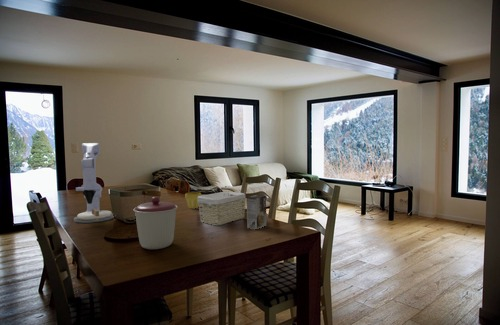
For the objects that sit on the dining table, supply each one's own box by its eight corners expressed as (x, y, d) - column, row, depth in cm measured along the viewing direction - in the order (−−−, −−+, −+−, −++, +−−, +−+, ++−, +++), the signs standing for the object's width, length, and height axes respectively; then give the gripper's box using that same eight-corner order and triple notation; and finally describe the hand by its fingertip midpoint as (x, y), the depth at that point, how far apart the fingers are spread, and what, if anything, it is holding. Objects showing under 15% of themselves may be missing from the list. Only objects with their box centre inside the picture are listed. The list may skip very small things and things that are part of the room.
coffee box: (256, 224, 175) (256, 194, 174) (266, 226, 171) (266, 195, 170) (246, 228, 167) (246, 196, 166) (257, 230, 164) (256, 197, 163)
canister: (136, 255, 128) (134, 201, 127) (132, 242, 145) (131, 195, 144) (182, 249, 135) (181, 198, 134) (174, 237, 152) (173, 192, 151)
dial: (75, 215, 195) (75, 208, 194) (108, 211, 205) (107, 204, 205) (79, 221, 180) (79, 213, 180) (114, 217, 190) (114, 209, 190)
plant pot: (186, 206, 226) (185, 192, 225) (201, 206, 227) (201, 192, 226) (184, 209, 216) (184, 194, 215) (200, 209, 217) (200, 194, 216)
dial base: (72, 217, 196) (72, 214, 196) (112, 212, 207) (112, 210, 207) (74, 225, 177) (74, 222, 177) (118, 219, 189) (118, 217, 188)
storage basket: (216, 227, 170) (216, 199, 170) (196, 222, 181) (195, 195, 180) (247, 218, 189) (246, 193, 188) (227, 214, 199) (226, 190, 198)
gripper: (72, 180, 182) (73, 204, 183) (97, 180, 181) (98, 205, 182) (79, 179, 189) (80, 202, 190) (104, 179, 188) (104, 202, 189)
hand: (89, 203), depth 186 cm, fingers closed
